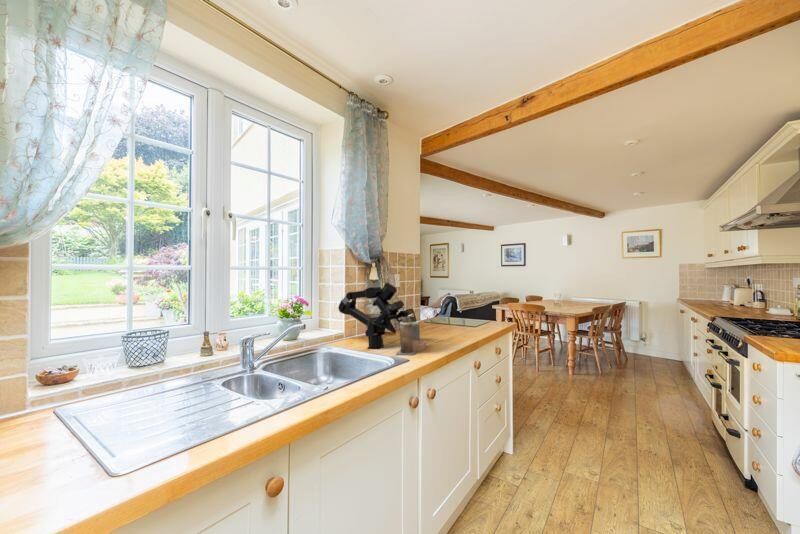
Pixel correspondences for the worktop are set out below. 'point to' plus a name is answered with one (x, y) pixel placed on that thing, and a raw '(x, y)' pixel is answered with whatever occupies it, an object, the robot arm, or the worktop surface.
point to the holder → (419, 345)
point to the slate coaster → (406, 353)
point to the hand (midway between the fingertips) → (402, 331)
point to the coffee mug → (415, 331)
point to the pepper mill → (406, 335)
